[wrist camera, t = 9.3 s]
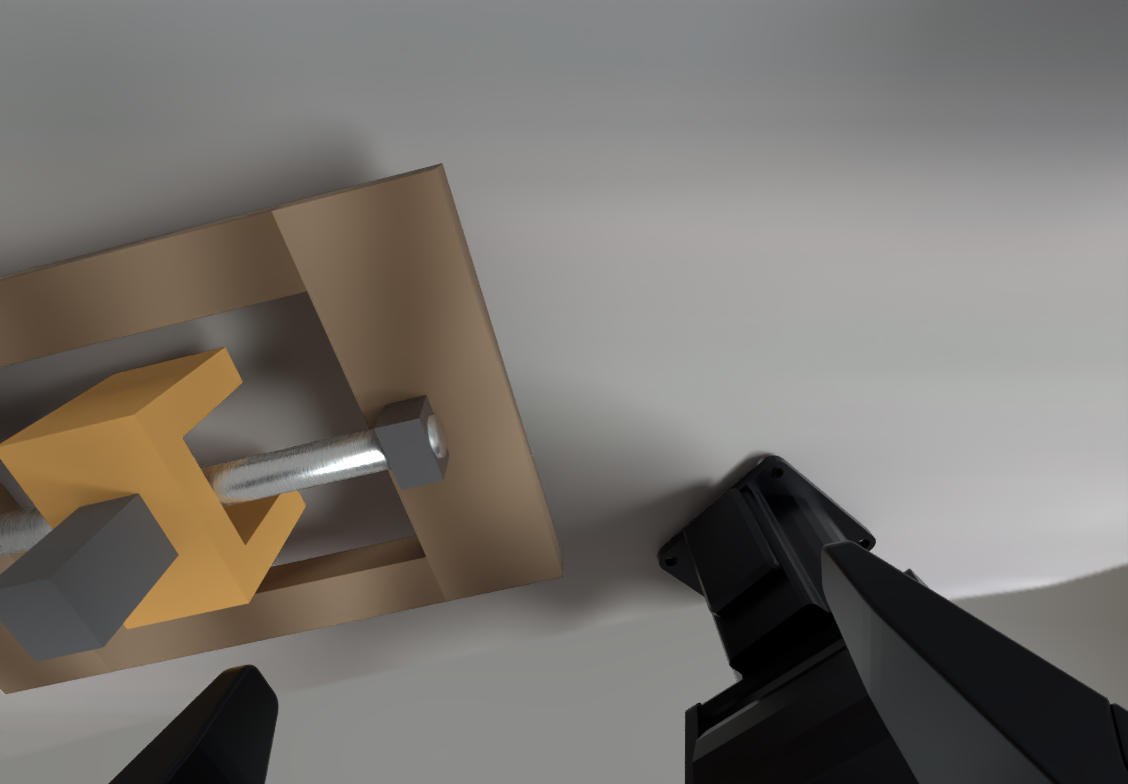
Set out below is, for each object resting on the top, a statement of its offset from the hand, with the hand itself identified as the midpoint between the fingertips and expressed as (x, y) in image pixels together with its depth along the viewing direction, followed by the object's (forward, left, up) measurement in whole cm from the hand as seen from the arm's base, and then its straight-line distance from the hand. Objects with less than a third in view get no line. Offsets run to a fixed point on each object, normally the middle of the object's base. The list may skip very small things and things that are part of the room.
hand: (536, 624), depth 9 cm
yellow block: (+6, +9, -10) cm, 15 cm away
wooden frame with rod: (+6, +9, -12) cm, 16 cm away
